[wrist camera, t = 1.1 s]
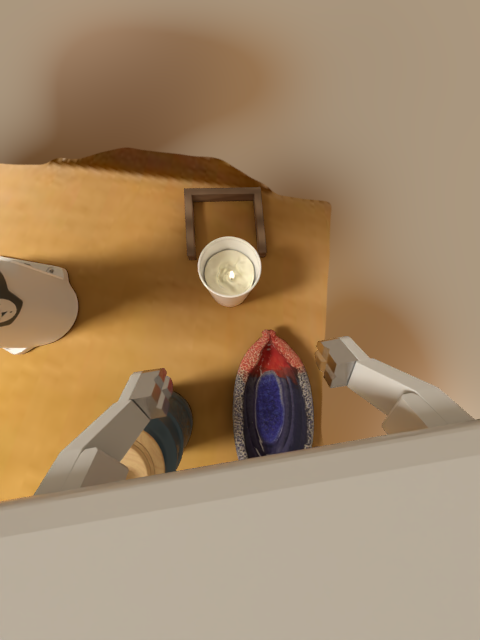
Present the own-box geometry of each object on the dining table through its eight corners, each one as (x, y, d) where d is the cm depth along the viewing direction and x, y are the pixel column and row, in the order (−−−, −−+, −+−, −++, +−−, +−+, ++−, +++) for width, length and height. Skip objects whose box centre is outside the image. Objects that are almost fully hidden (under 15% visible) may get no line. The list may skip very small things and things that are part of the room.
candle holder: (260, 288, 39) (274, 266, 27) (230, 319, 38) (230, 310, 26) (229, 258, 40) (229, 223, 28) (197, 288, 38) (183, 265, 27)
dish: (229, 485, 35) (229, 509, 30) (234, 329, 38) (235, 328, 33) (306, 484, 36) (319, 507, 31) (304, 331, 39) (315, 330, 34)
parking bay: (264, 256, 40) (266, 252, 38) (189, 260, 39) (187, 255, 37) (259, 194, 42) (260, 187, 40) (186, 195, 41) (184, 188, 39)
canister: (206, 408, 36) (185, 474, 18) (170, 469, 34) (109, 605, 17) (152, 375, 36) (79, 408, 18) (113, 434, 34) (-7, 533, 17)
